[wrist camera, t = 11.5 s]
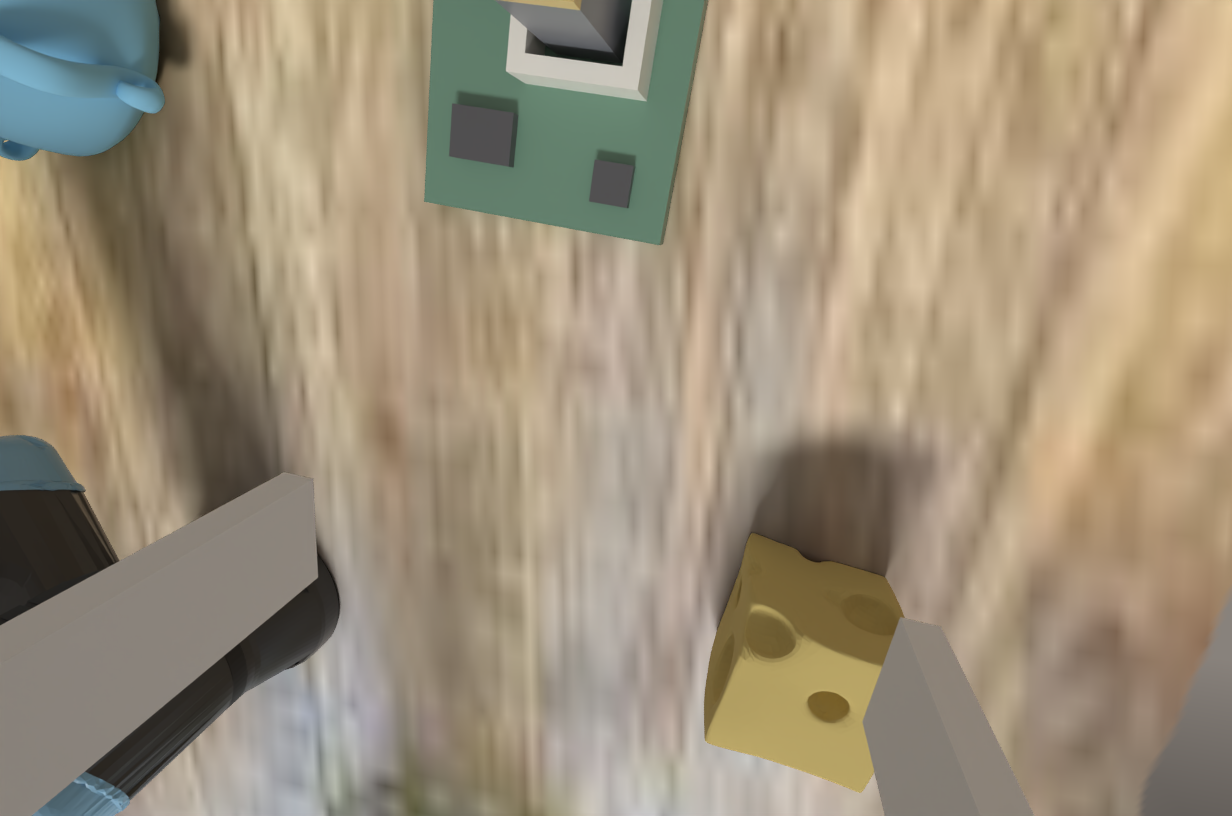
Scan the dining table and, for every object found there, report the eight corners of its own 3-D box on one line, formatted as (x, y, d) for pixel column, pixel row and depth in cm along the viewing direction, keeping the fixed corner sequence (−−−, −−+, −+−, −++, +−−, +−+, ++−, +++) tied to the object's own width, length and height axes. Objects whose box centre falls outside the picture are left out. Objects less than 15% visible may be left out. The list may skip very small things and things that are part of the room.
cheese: (748, 527, 42) (748, 615, 32) (897, 575, 40) (942, 680, 31) (708, 637, 45) (697, 744, 36) (844, 684, 44) (870, 808, 35)
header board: (435, 202, 39) (398, 199, 35) (452, -123, 33) (410, -173, 29) (662, 244, 37) (652, 246, 33) (726, -99, 31) (722, -149, 27)
